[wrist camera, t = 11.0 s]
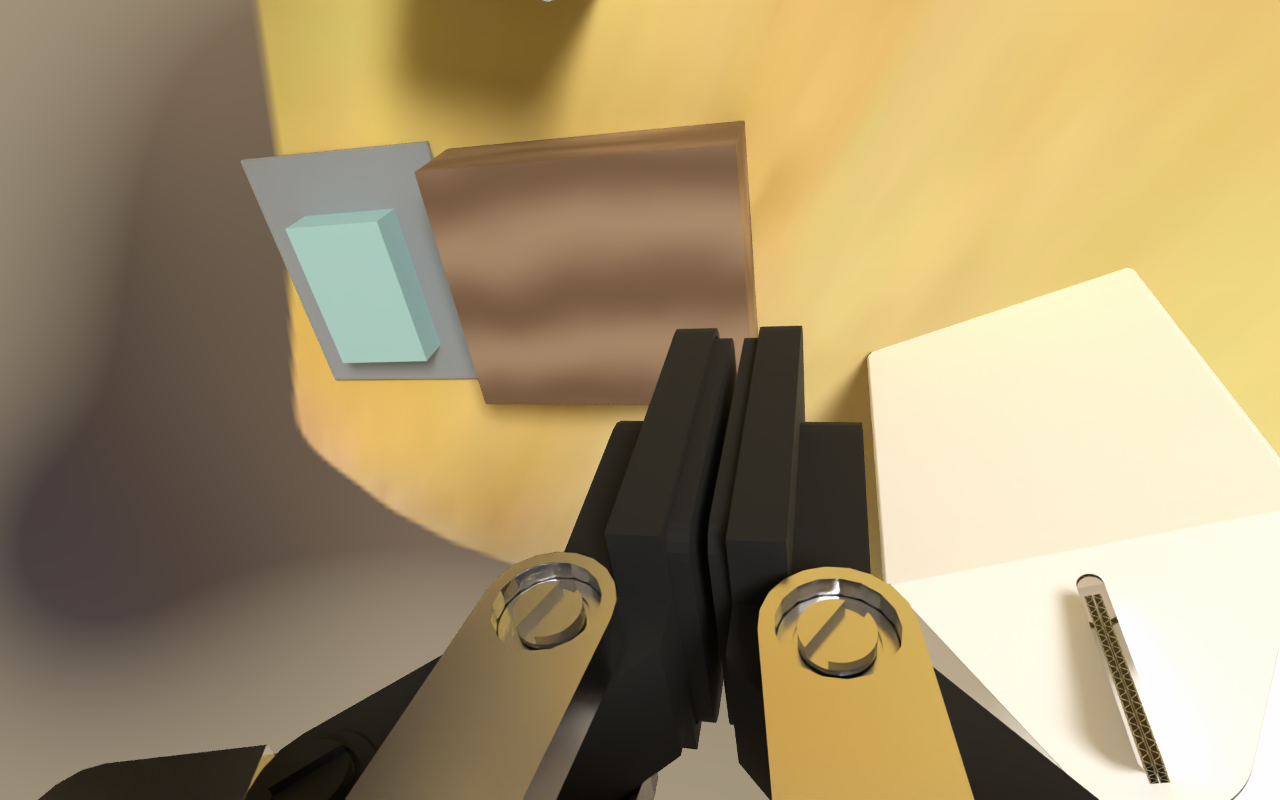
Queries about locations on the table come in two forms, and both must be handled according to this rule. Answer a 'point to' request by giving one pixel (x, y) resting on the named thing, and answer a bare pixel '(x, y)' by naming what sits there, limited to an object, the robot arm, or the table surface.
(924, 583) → the gable box
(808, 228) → the table surface
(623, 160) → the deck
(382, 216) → the block
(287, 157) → the mat
